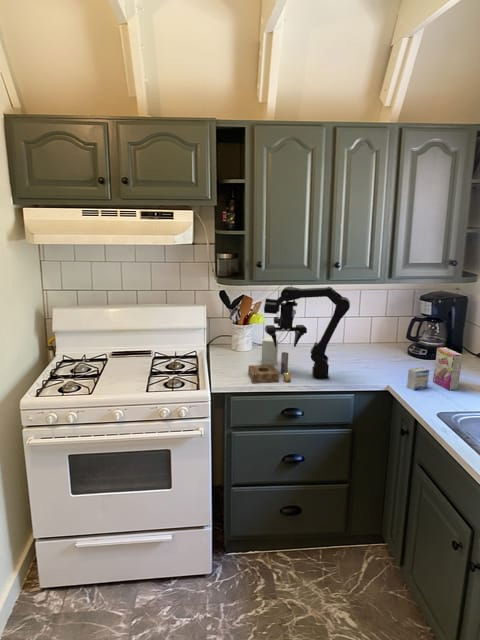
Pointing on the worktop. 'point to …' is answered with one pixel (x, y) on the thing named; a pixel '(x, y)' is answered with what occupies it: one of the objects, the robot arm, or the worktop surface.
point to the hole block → (263, 373)
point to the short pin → (287, 377)
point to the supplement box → (269, 351)
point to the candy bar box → (447, 368)
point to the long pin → (284, 362)
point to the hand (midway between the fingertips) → (285, 347)
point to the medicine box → (418, 378)
